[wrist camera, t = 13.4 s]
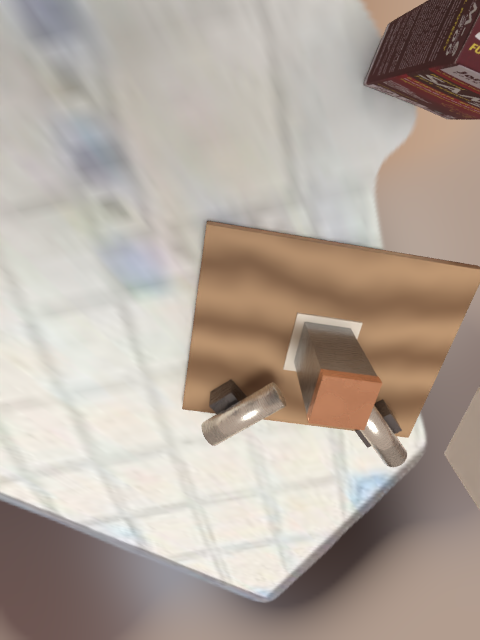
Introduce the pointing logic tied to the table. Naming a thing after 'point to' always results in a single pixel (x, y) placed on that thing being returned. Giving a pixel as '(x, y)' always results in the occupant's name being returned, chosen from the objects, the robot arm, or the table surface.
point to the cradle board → (320, 315)
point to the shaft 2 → (383, 435)
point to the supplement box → (432, 58)
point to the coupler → (335, 377)
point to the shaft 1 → (239, 410)
